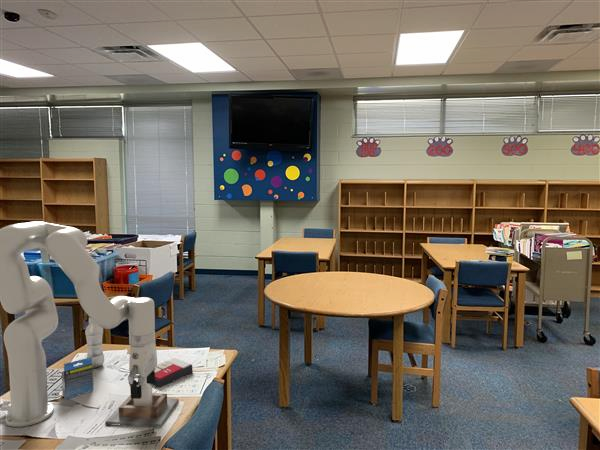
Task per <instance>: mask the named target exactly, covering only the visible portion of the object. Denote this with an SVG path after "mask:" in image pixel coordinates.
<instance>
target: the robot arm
mask: <svg viewBox="0 0 600 450" xmlns="http://www.w3.org/2000/svg"><path fill="white" fill-rule="evenodd" d="M87 246H88V237H87V235H86V234H85V232H83V230H81V229H78V228H76V227H73V226H67V225H60V224H56V223H49V222H45V221H36V220H35V221H29V222H20V223H18V222H17V223H14V224H9V225H6V226H4V227H2V228H0V304H1V306H2V309H3V310H4V311H5V312H6V313H8V314H10V315H11V314H12V315H16V314H21V313H25V314H23V315H22V316H19V317H18V318H16V319H14V320H12V322H10V323H9V324H8V325H7V327H6V328H5V330H4V332H3V342H4V346H5V347H4V348H5V349H6V353H7V354H6V355H7V361H8V373H9V374H8V375H9V393H10V395H9V396H10V400H8V399H6V400H4V401H3V402H2V405H1V406H0V411H7V414H6V416H5V424H6V425H7V426H9V427H15V428H22V427H27V426H28V427H29V426H31V425H35V424H38V423H41V422H43V421H44V420H46V419H48V418H49V417H50V416H51V415H53V413H54V410H55V406H54V404H53V403H50V402H49V400H48V399H49V398H48V395H49V393H48V377H47V376H48V374H47V373H48V372H47V357H46V352H45V349H44V348H43V345H42V341H44V340H45V339H46V338H47V337H49V336H50V335H52V334H53V333H54V332H55V331H56V330H57V328H58V326H59V316H58V315H59V314H58V311H57V306H56V303H55V299H54V294H53V290H52V288H51V285H50V284H49V282H48V281H47V280H46V279H45V278H43V277H40V276H37V275H32V276H31V274H30V271H29V267H28V264H27V262H26V261H25V259H24V257H23V256H22V253H23V252H26V251H30V250H31V251H32V250H35V249H44V250H45V251H46V253H48V255H49V256H50V257H51V259H53V261H54V262H55V263H56V265H58V267H59V268H60V269H61V270H62V272H63V273H64V274H65V275H66V276H67V277H68V278H69V280H70V281H71V282H72V283H73V286H74V290H75V294H76V296H77V299H78V302H79V304H80V306H81V308H82V309H83V311H84V312H85V313H86V314H87V316H88V318H89V317H90V318H91V319H92V320H93V321H94V322H95V323H96V324H97V325H98V326H100V327H102V328H103V329H106V330H111V329H114V328H116V327H118V326H119V325H120V324H121V323H122V322H124V321H127V320H128V335H129V336H128V338H129V340H128V341H129V342H128V344H129V345H130V348H129V349H130V350H129V363H128V364H129V369H128V370H129V375H128V376H127V380H128V384H129V387H130V395H131V398H133V399H140V398H141V397H142V391H141V385H140V383H141V379H142V377H143V378H146V377H147V383H148V384H150V383H151V384H150V385H153V384H154V383H155V368H156V366H157V365H158V356H157V344H156V330H155V329H156V328H155V326H156V325H155V324H156V323H155V322H156V318H155V317H156V315H155V301H154V299H152V298H150V297H146V296H142V297H140V296H139V297H131V296H125V295H117V296H115V297H112V298H111V299H109V298H108V296H107V295H106V294H105V293H104V291H103V289H102V287H101V285H100V280H99V279H100V266H99V264H98V263H97V261H95V259H94V258H93V257H92V256H91V254H90V253H89V252H88V251H87V250H86V248H87ZM135 379H137V380H135Z"/></svg>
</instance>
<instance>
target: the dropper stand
mask: <svg viewBox="0 0 600 450" xmlns="http://www.w3.org/2000/svg"><path fill="white" fill-rule="evenodd" d="M178 403H179V398H176V397H175V398H171V397H168V393H157V392H152V405H153V406H134V401H133V398H131V394H130V395H129V396H128V397H127V398H126V399H125V400H124V401H123V402H122V403H121V404H120V405H119V407H118V408H116V409H115V410H114V412H113V413H112V414H111V415H109V417H108V418H106V420H105V422H104V425H105V424H120V425H119V426H123V425H127V426H128V427H143V428H144V427H145V428H147V427H148V428H161V427H162V426H163V424H164V423H165V422H166V420H167V419H168V418H169V416H170V415H171V413H172V412H173V411H174V409H175V407H176V406H177V404H178Z"/></svg>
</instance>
